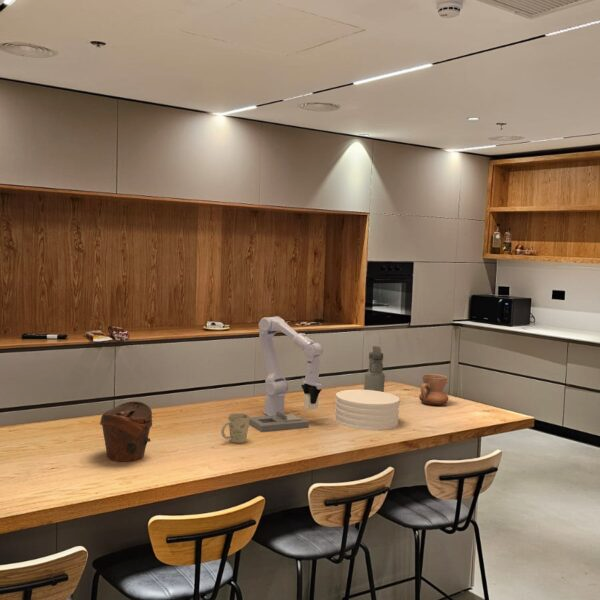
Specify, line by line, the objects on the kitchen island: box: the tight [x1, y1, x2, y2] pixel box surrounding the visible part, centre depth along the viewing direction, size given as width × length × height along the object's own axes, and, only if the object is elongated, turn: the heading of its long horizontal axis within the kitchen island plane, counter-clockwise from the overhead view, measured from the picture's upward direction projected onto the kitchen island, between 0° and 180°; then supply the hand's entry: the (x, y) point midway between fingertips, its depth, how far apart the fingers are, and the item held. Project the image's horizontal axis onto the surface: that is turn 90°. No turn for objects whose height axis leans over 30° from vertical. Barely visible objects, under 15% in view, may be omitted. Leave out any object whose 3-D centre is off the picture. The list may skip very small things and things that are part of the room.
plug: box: [302, 393, 320, 411], centre depth 304 cm, size 4×5×8 cm
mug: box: [220, 412, 251, 444], centre depth 271 cm, size 8×13×10 cm, turn 137°
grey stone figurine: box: [363, 345, 386, 392], centre depth 347 cm, size 10×10×28 cm
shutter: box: [276, 412, 302, 422], centre depth 300 cm, size 8×8×2 cm
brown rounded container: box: [99, 400, 153, 462], centre depth 246 cm, size 18×20×18 cm
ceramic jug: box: [418, 373, 449, 406], centre depth 354 cm, size 18×14×14 cm
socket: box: [249, 413, 310, 433], centre depth 298 cm, size 14×22×2 cm, turn 119°
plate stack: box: [334, 389, 401, 431], centre depth 312 cm, size 28×28×12 cm
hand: (310, 402), depth 304 cm, fingers closed on plug, 4 cm apart
